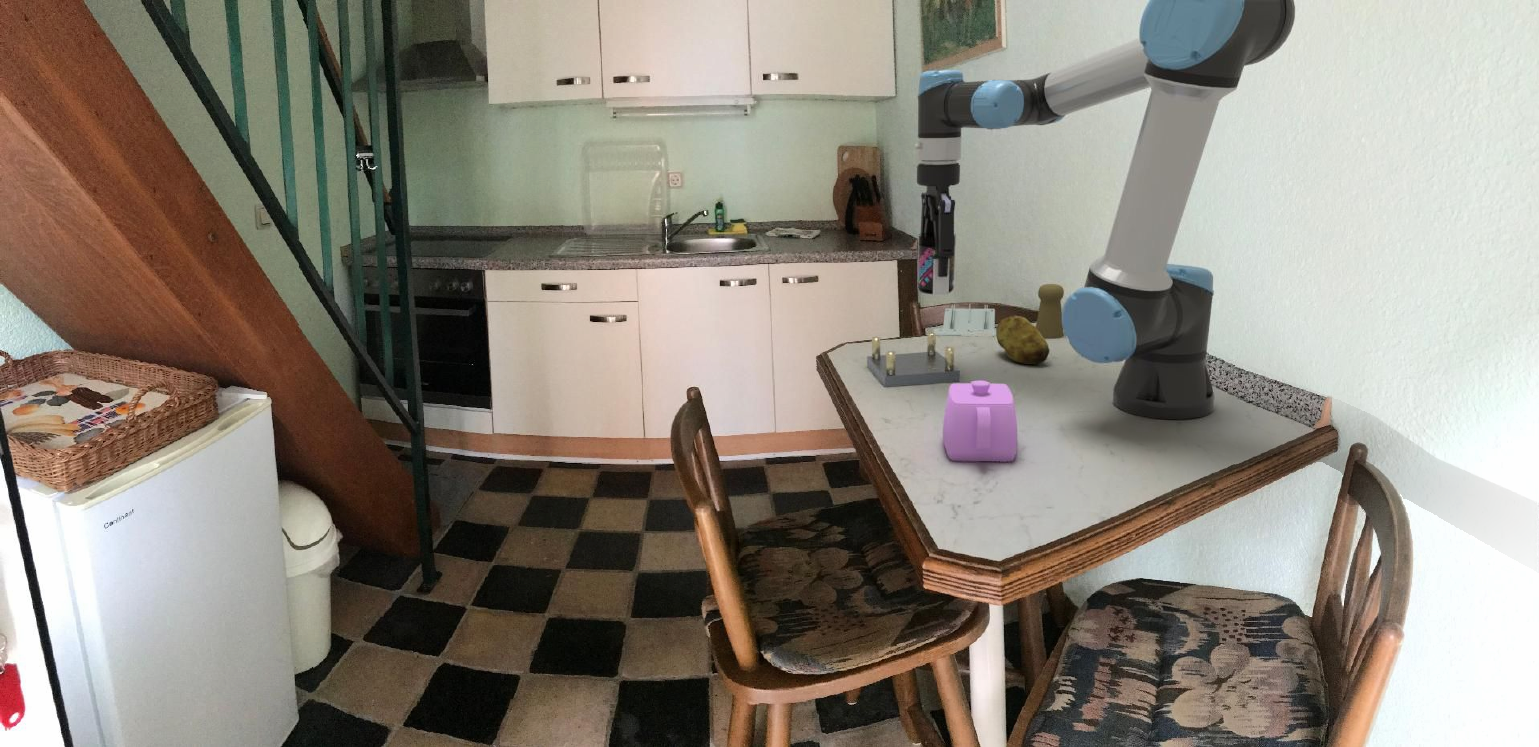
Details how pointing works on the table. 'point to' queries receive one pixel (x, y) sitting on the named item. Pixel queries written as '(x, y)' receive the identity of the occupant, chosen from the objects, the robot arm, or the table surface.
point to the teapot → (980, 422)
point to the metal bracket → (967, 322)
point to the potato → (1021, 340)
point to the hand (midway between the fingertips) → (935, 289)
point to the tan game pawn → (1050, 311)
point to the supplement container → (930, 263)
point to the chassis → (913, 365)
